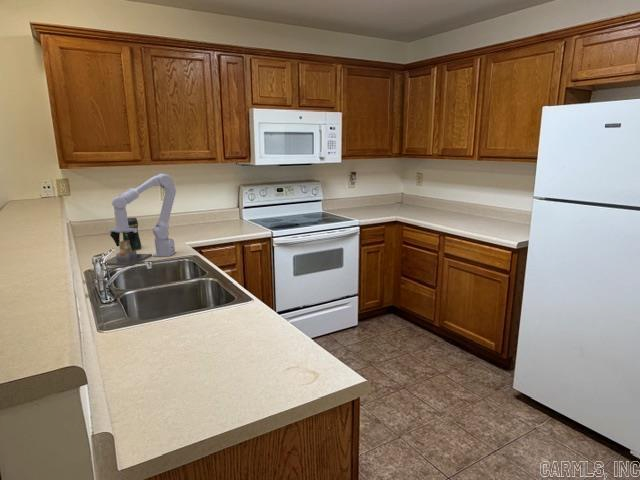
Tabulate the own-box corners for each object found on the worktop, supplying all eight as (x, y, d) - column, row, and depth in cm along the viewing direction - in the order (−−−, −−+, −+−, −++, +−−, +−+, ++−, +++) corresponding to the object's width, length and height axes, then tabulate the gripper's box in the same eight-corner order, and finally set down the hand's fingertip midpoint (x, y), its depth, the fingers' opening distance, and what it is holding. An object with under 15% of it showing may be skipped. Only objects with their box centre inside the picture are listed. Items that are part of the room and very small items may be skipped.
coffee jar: (141, 246, 246) (137, 216, 242) (141, 249, 239) (137, 218, 234) (124, 248, 242) (119, 217, 238) (123, 251, 235) (118, 219, 231)
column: (132, 252, 217) (130, 240, 215) (127, 254, 213) (126, 242, 211) (124, 252, 217) (123, 240, 216) (120, 254, 213) (118, 242, 212)
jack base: (152, 255, 224) (151, 248, 223) (134, 265, 206) (132, 257, 205) (121, 256, 226) (120, 248, 225) (100, 265, 208) (99, 257, 207)
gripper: (103, 222, 208) (107, 247, 211) (130, 221, 206) (134, 247, 209) (112, 219, 215) (115, 244, 218) (138, 219, 213) (141, 244, 216)
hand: (125, 246), depth 214 cm, fingers open, 7 cm apart
